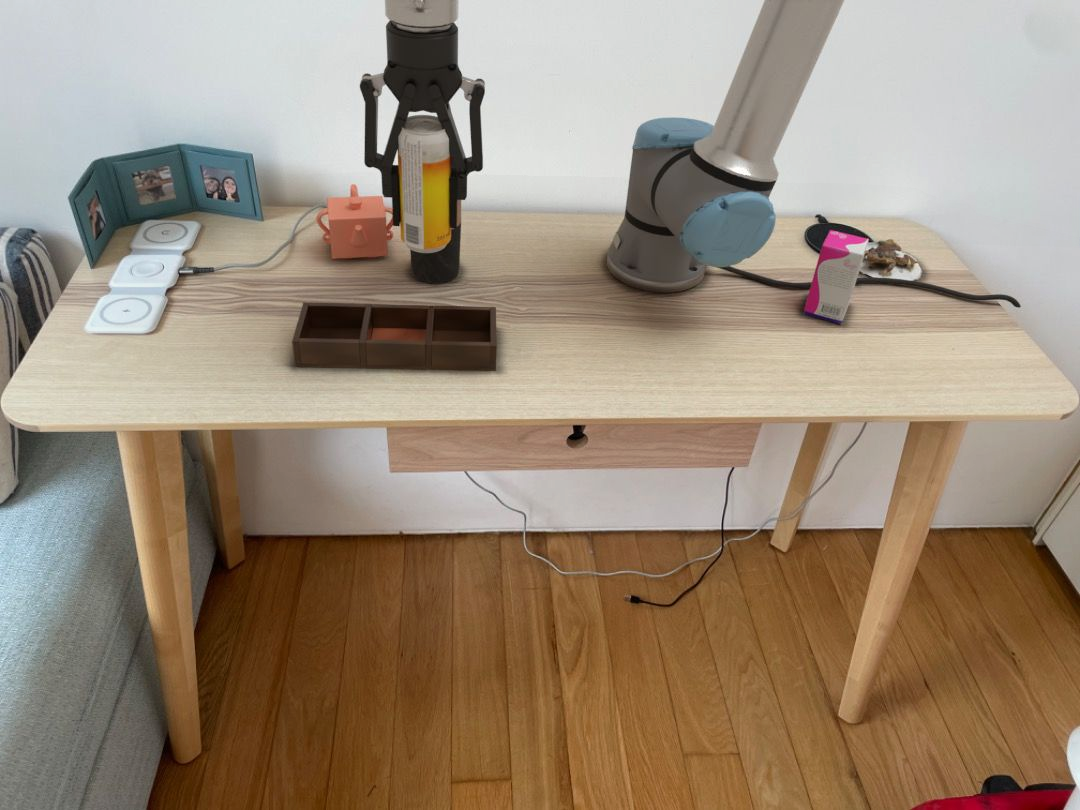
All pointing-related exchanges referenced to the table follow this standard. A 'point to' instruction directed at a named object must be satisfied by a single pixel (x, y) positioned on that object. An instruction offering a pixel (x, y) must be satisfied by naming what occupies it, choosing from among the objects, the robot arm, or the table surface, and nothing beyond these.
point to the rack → (395, 336)
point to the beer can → (424, 184)
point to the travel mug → (439, 257)
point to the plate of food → (889, 262)
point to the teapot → (356, 226)
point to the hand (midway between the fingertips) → (425, 221)
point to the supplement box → (835, 276)
